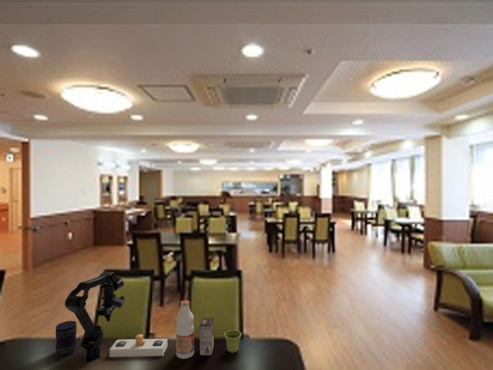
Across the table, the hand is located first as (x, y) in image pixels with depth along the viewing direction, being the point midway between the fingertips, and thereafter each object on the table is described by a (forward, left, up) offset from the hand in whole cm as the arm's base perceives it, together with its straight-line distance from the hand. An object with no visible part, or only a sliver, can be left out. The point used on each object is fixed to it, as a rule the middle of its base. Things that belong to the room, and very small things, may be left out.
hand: (108, 321), depth 171 cm
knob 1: (+1, -13, -12) cm, 17 cm away
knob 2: (+15, -27, -12) cm, 33 cm away
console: (+8, -20, -13) cm, 25 cm away
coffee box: (+33, -47, -13) cm, 59 cm away
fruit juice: (+23, -41, -13) cm, 49 cm away
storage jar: (-19, +9, -13) cm, 25 cm away
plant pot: (+43, -57, -13) cm, 73 cm away
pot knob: (+8, -20, -10) cm, 24 cm away
